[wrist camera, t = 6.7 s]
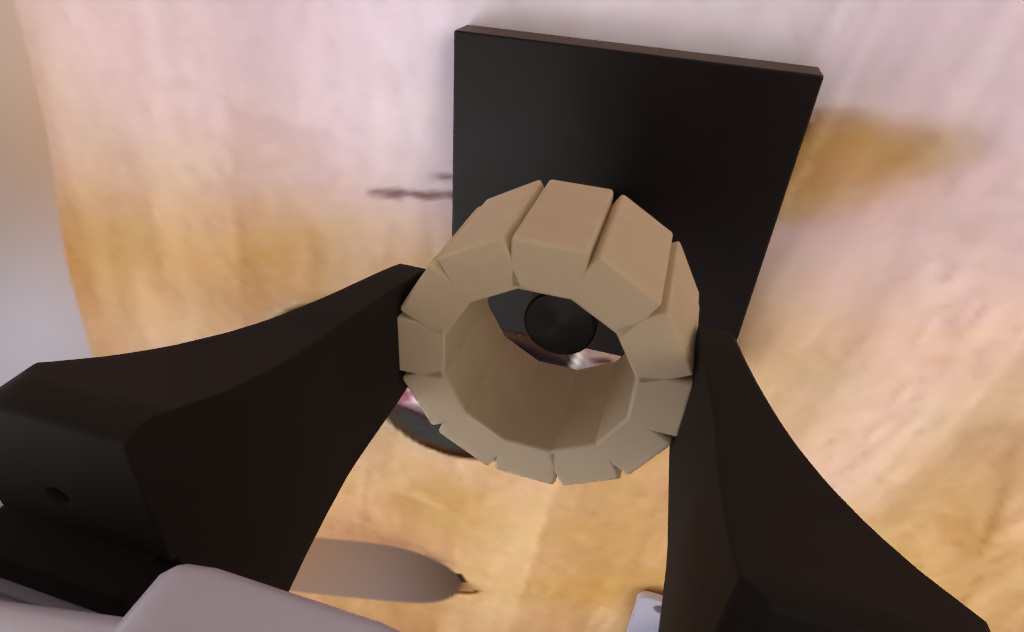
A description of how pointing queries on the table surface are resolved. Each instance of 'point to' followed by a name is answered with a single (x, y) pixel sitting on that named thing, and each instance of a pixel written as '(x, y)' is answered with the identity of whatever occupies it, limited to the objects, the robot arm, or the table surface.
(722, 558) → the robot arm
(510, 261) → the earpad ring
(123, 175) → the table surface
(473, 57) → the peg stand
